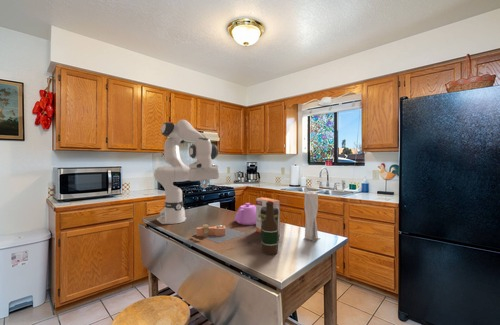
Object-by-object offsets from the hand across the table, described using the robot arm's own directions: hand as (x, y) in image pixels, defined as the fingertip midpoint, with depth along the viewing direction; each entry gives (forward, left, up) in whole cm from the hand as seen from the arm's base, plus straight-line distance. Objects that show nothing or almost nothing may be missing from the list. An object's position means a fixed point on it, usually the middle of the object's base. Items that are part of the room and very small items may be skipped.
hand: (204, 187), depth 145 cm
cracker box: (+31, +22, -27) cm, 47 cm away
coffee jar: (+39, +14, -27) cm, 50 cm away
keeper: (+8, -5, -27) cm, 29 cm away
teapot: (+8, +32, -27) cm, 43 cm away
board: (+11, +3, -27) cm, 29 cm away
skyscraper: (+53, +33, -28) cm, 68 cm away
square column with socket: (+9, -2, -26) cm, 28 cm away
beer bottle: (+48, +3, -27) cm, 55 cm away
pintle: (+12, +2, -27) cm, 30 cm away
